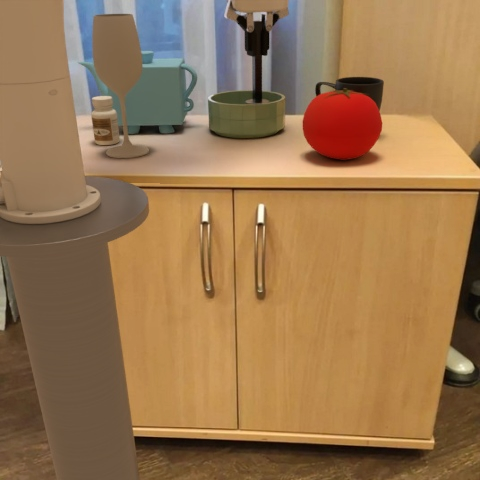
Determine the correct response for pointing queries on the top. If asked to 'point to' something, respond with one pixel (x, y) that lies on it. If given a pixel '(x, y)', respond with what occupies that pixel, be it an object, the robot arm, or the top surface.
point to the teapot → (153, 94)
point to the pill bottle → (104, 121)
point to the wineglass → (118, 67)
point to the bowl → (246, 114)
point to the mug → (358, 87)
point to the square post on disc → (257, 68)
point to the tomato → (342, 124)
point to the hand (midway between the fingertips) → (257, 54)
